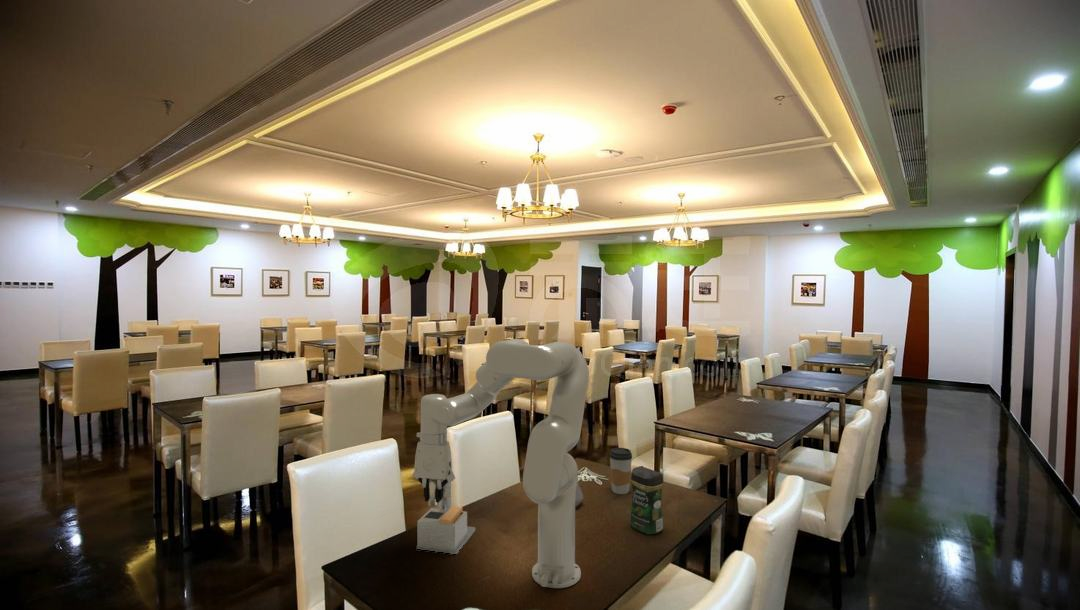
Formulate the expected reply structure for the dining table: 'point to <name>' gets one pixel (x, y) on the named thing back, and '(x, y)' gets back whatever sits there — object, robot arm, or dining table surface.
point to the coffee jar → (646, 500)
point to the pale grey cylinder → (432, 492)
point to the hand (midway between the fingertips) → (433, 499)
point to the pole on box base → (443, 528)
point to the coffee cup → (620, 470)
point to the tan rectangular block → (451, 515)
